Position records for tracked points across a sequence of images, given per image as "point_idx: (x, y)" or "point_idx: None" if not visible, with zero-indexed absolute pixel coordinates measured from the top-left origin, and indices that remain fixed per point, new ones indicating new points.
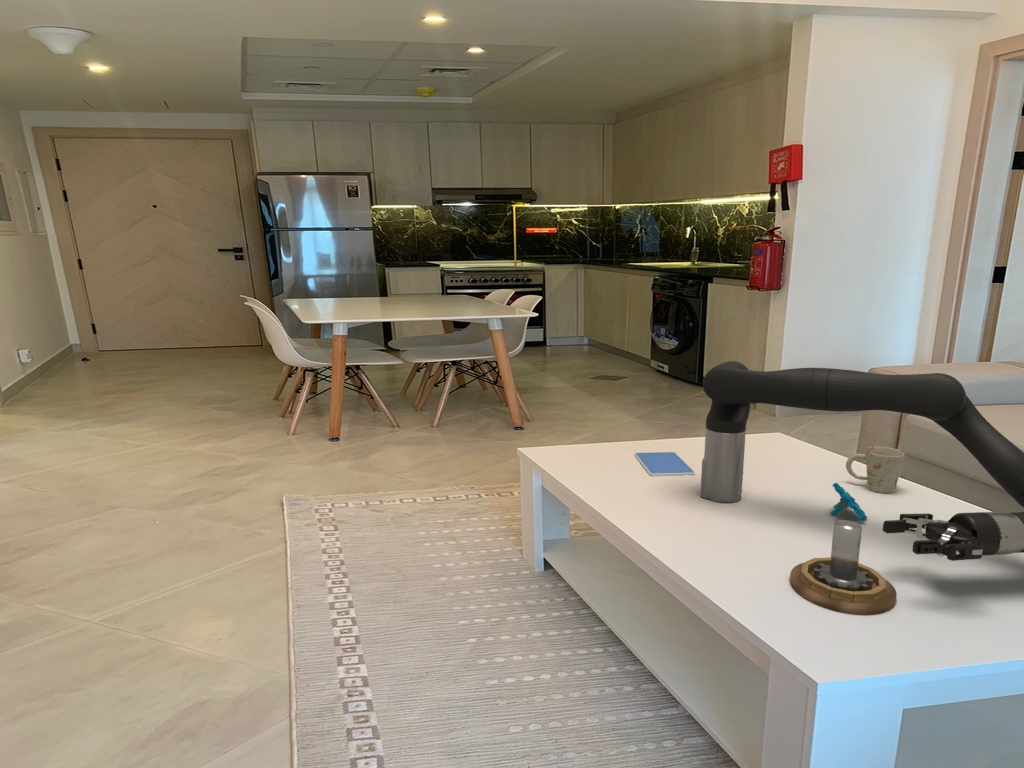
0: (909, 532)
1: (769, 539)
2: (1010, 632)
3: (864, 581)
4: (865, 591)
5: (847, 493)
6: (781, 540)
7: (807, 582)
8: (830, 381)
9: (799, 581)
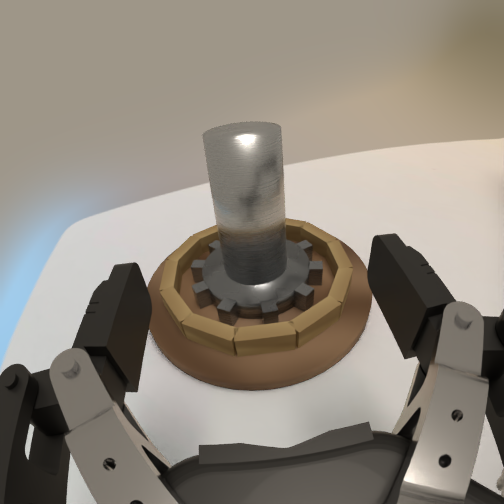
0: (411, 383)
1: (453, 236)
2: None
3: (219, 292)
4: (172, 279)
5: None
6: (460, 249)
7: None
8: None
9: None
